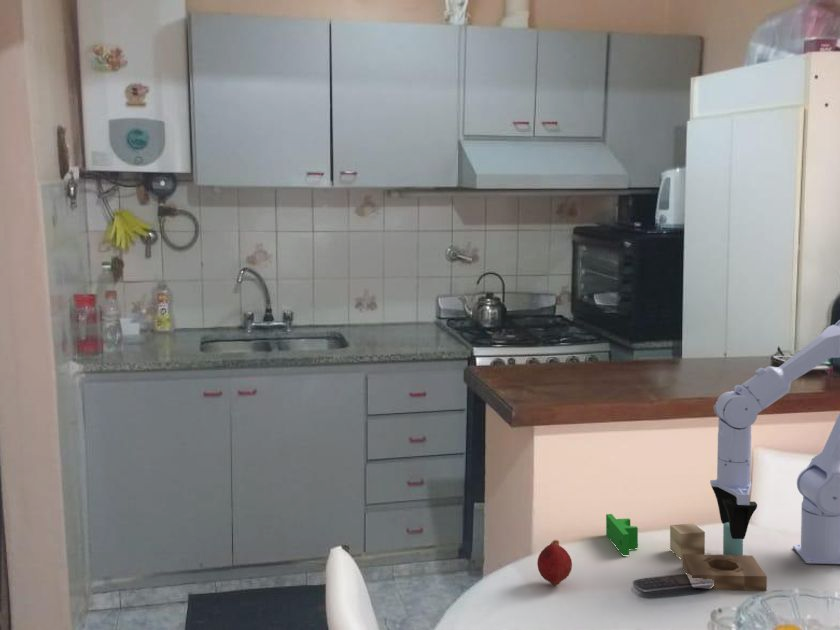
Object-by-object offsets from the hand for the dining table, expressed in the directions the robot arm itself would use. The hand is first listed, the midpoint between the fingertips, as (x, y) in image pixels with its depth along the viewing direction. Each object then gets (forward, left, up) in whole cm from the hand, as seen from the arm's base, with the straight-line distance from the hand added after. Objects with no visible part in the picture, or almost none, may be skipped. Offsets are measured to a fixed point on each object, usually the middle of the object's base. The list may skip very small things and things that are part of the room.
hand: (732, 530), depth 157 cm
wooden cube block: (+8, -1, -5) cm, 9 cm away
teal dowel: (0, 0, -5) cm, 5 cm away
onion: (+33, +14, -5) cm, 36 cm away
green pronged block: (+19, -5, -5) cm, 20 cm away
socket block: (+4, +10, -5) cm, 12 cm away
